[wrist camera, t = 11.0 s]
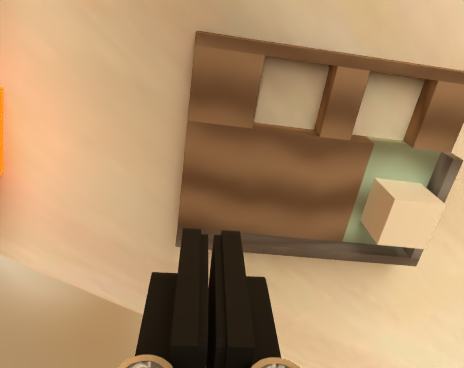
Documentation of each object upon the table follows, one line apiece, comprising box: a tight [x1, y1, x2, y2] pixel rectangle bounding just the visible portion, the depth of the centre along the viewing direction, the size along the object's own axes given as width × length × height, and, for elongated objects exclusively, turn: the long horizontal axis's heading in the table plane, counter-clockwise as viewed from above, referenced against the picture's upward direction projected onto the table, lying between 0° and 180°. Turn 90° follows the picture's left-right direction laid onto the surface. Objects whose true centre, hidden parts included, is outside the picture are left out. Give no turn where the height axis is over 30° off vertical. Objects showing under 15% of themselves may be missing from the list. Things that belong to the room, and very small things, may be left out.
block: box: [360, 178, 446, 249], centre depth 37 cm, size 5×5×4 cm
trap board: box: [176, 31, 464, 266], centre depth 36 cm, size 20×26×4 cm
